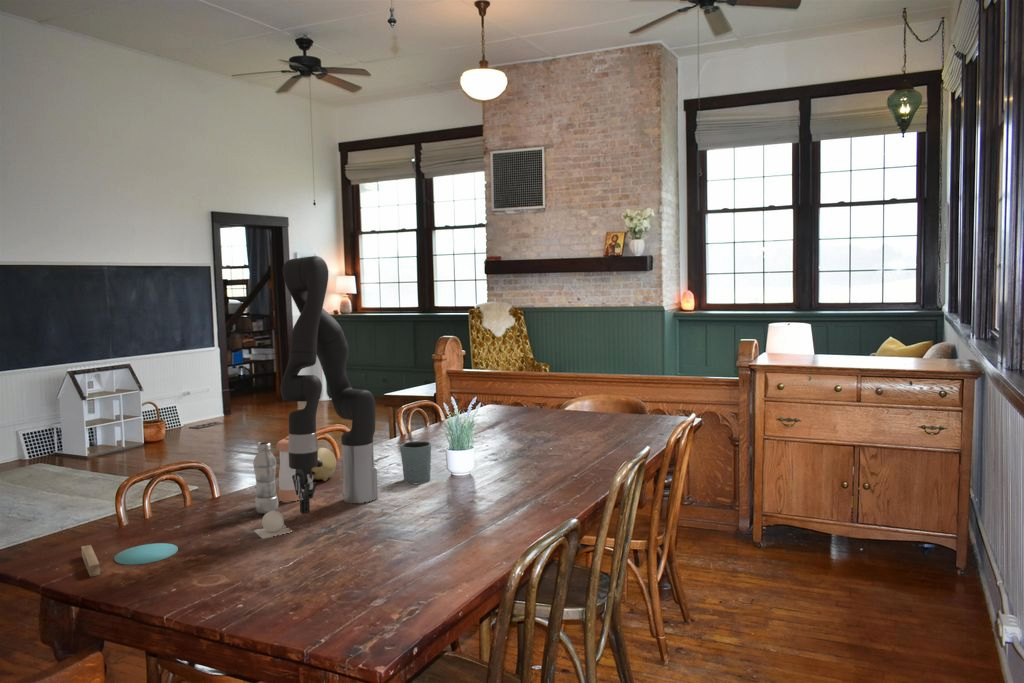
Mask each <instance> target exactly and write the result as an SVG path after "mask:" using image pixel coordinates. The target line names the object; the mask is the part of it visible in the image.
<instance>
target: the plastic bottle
mask: <svg viewBox="0 0 1024 683" xmlns="http://www.w3.org/2000/svg"><path fill="white" fill-rule="evenodd" d="M256 445H257V446H256V448H257V450H256V451H258V452H257V453H256V455H255V457H254V458H253V462H252V463H253V465H252V466H253V470H254V477H255V481H256V482H255V486H256V487H255V489H256V491H255V500H254V506H255V511H256V512H257V513H258V514H266V513H268V512H270V511H277V510H278V509H279V504H280V503H279V502H280V501H279V496H278V491H277V485H276V474H277V473H276V471H277V470H276V469H277V458H276V456H275V455H274V454H273V452H272V451H271V450H272V447H271V445H272V444H271V442H269V441H261V442H257V444H256Z"/></svg>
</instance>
